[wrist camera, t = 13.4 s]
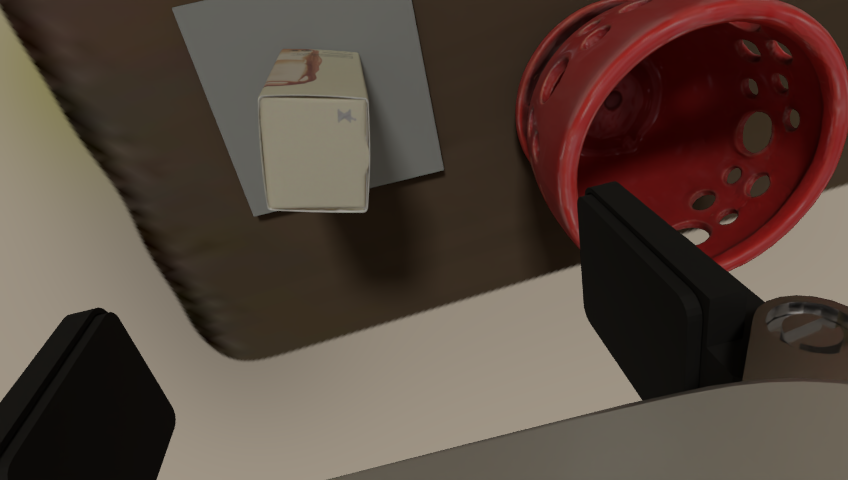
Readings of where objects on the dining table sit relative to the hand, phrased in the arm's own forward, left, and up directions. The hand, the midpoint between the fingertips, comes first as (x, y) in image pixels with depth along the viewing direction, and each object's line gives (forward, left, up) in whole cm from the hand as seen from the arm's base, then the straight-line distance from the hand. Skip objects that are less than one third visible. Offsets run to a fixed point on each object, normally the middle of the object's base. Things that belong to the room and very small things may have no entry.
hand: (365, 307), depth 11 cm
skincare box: (+1, +1, -22) cm, 22 cm away
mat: (+1, +1, -23) cm, 23 cm away
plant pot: (-15, +5, -23) cm, 28 cm away
